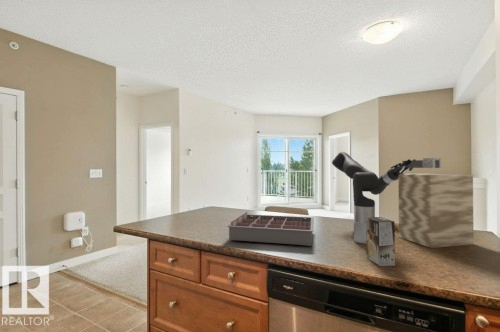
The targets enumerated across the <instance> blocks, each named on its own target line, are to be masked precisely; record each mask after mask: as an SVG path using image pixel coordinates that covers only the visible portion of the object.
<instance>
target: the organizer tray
mask: <svg viewBox="0 0 500 332" xmlns="http://www.w3.org/2000/svg"><path fill="white" fill-rule="evenodd" d="M314 218H315V217H312V216H293V215H292V216H290V215H289V216H288V215H266V214H248V211H246V212H244V213H242V214H241V215H239V216H238V217H236V218H234V219H233V220H232V221H230V224H228V226H226V227H228V239H229V240H230V241H241V242H242V241H244V242H257V243H268V244H271V243H272V244H283V245H295V246H296V245H298V246H299V245H300V246H312V244H313V239H312V238H313V232H314Z"/></svg>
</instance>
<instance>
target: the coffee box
mask: <svg viewBox="0 0 500 332" xmlns="http://www.w3.org/2000/svg"><path fill="white" fill-rule="evenodd" d="M395 224H396V223H395V220H391V219H388V218H384V217H381V216H378V217H377V216H375V217H366V243H367V244H366V259H368V260H370V261H371V262H373V263H375V264H376V265H378V266H379V267H393V266H396V246H395V245H396V240H395V239H396V238H395V237H396V235H395V234H396V233H395V231H396V230H395V229H396V228H395Z"/></svg>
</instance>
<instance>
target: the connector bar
mask: <svg viewBox="0 0 500 332" xmlns="http://www.w3.org/2000/svg"><path fill="white" fill-rule="evenodd" d="M412 160H413V161H412ZM412 160H411V163H410V164H408V165H407V166H406V167H405V168H413V169H417V168H418V169H425V168H426V169H441V168H442V157H426V158H425V157H423V158H422V160H421V159H420V160H419V159H417V160H416V159H415V160H414V159H412ZM405 161H406V160H402V162H401V164H402V163H403V162H405Z"/></svg>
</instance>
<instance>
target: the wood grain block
mask: <svg viewBox="0 0 500 332" xmlns="http://www.w3.org/2000/svg"><path fill="white" fill-rule="evenodd" d="M398 238H400V239H404V240H406V241H410V242H413V243H416V244H419V245H422V246H424V247H428V248H431V249H434V248H436V249H437V248H445V247H446V248H447V247H456V246H468V245H475V243H474V175H473V174H451V173H450V174H445V173H443V174H442V173H438V174H437V173H403V174H400V175H398Z"/></svg>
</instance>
